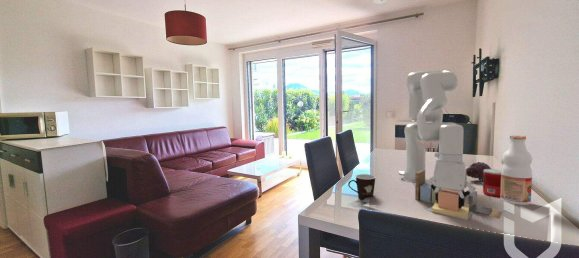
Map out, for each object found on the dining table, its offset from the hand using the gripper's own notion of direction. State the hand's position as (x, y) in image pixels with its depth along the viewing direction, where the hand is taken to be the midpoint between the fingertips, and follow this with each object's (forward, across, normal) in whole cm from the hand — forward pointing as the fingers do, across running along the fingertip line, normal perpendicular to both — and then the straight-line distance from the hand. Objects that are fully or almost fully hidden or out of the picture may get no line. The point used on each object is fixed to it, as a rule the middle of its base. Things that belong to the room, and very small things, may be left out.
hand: (449, 204), depth 97 cm
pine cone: (+5, -1, +59) cm, 60 cm away
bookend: (+3, +8, +8) cm, 12 cm away
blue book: (+3, -10, +8) cm, 13 cm away
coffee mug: (+4, -34, -5) cm, 34 cm away
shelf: (+4, 0, +8) cm, 9 cm away
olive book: (+3, -6, +8) cm, 11 cm away
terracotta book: (+1, 0, 0) cm, 1 cm away
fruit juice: (+4, +16, +29) cm, 34 cm away
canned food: (+5, +8, +37) cm, 39 cm away
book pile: (+4, 0, 0) cm, 4 cm away
